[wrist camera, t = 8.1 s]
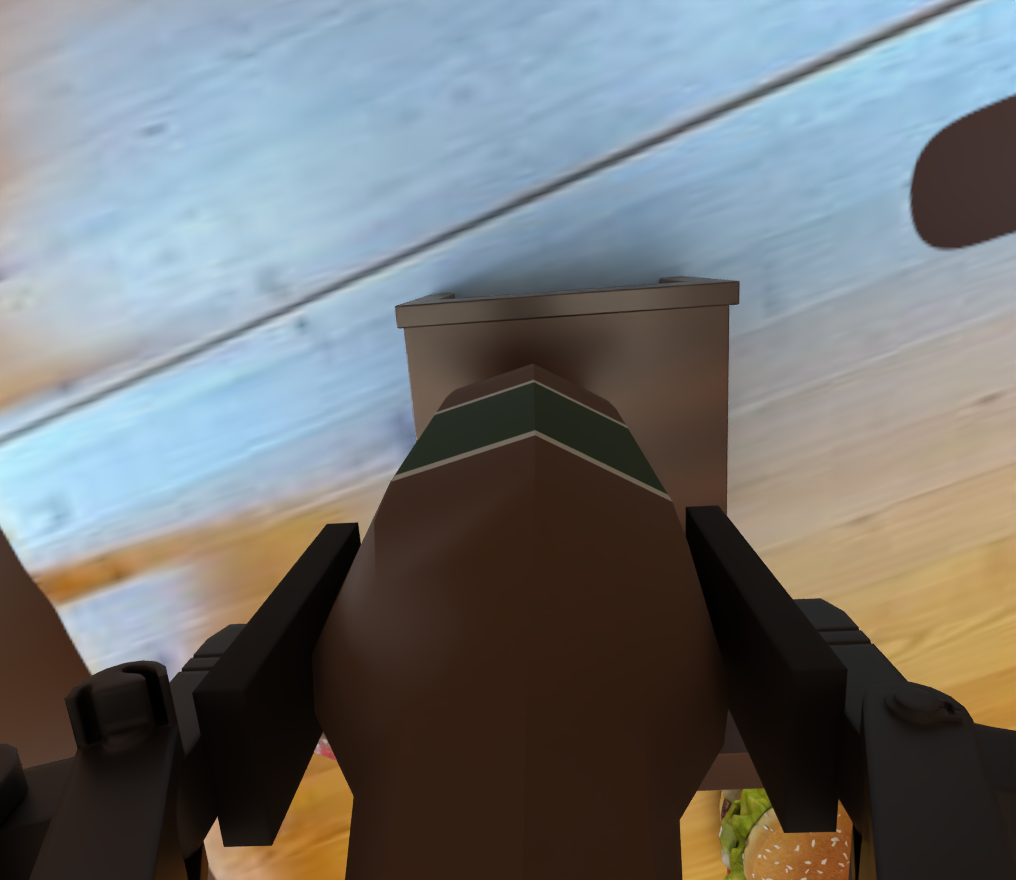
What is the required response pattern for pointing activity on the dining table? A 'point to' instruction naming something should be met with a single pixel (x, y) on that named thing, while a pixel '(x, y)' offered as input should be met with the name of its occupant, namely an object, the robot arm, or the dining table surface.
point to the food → (778, 842)
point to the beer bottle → (521, 651)
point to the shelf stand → (605, 384)
